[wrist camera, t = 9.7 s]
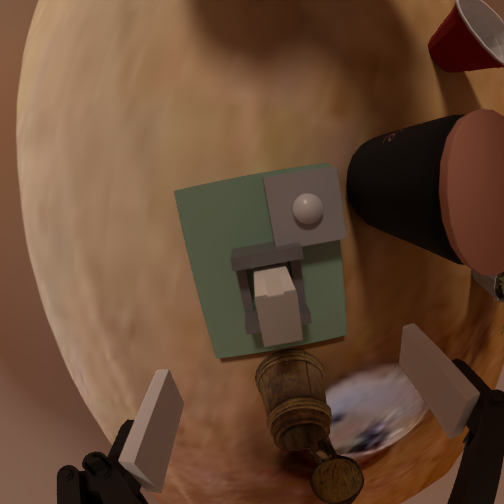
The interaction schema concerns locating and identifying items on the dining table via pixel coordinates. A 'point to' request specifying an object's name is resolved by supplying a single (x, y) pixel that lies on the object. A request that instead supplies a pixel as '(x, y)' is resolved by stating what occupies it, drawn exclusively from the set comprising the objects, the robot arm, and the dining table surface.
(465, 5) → the plastic cup
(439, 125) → the coffee jar
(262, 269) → the plug
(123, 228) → the dining table surface
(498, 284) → the house plant
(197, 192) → the board
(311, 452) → the wooden mug
